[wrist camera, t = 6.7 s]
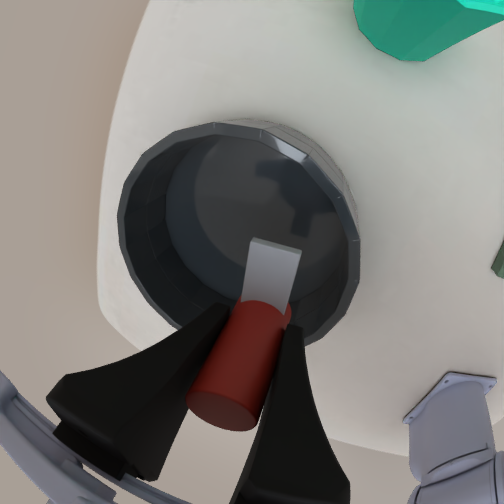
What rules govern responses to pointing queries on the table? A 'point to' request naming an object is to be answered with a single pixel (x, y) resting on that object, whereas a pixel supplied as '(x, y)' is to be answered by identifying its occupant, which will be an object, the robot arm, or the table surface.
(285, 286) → the blade
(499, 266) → the control block
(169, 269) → the processor bowl
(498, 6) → the candle
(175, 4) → the table surface
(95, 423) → the robot arm
